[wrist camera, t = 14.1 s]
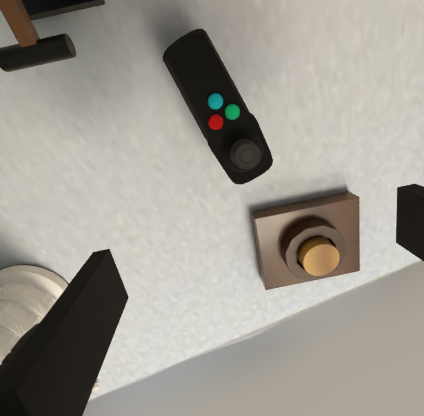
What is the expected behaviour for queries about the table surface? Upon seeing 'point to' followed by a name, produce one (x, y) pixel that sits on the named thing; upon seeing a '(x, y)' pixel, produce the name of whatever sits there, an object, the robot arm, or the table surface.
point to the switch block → (306, 237)
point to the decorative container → (25, 301)
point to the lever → (30, 41)
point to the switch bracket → (56, 7)
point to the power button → (318, 256)
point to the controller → (218, 107)
